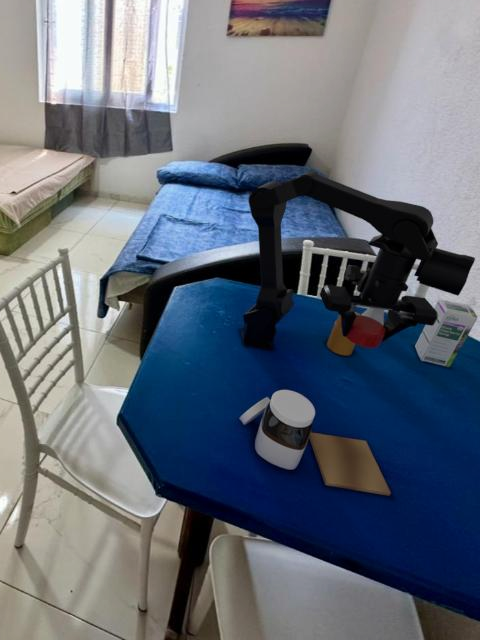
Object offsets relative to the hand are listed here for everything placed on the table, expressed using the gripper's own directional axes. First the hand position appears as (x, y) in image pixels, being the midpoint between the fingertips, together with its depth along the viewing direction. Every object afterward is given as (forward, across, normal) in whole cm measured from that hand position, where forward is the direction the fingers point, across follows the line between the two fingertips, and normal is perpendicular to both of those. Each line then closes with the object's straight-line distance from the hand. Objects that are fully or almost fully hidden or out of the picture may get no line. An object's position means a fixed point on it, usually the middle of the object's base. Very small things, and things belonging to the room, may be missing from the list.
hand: (361, 338), depth 83 cm
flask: (+13, -12, -22) cm, 28 cm away
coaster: (+13, +5, +21) cm, 25 cm away
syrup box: (+13, -24, -15) cm, 31 cm away
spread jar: (+13, +18, +20) cm, 30 cm away
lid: (0, 0, 0) cm, 0 cm away
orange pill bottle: (+13, -3, -13) cm, 18 cm away
